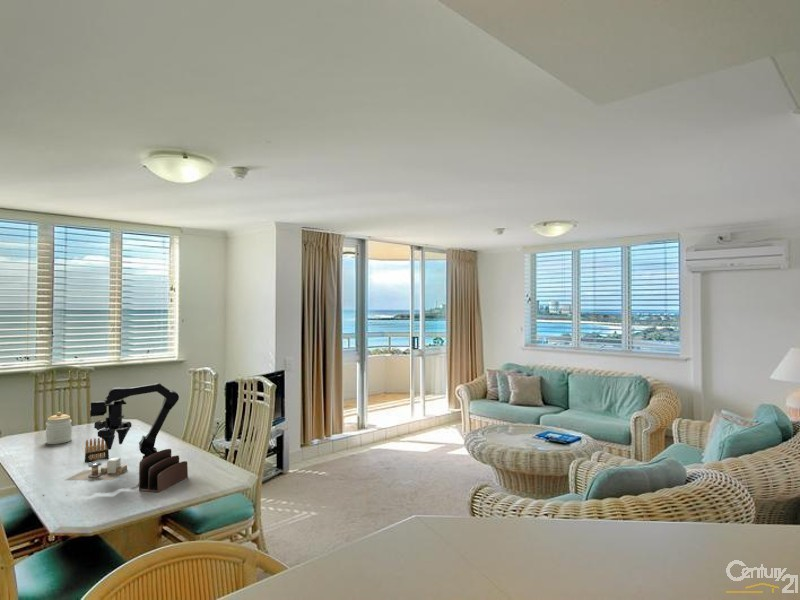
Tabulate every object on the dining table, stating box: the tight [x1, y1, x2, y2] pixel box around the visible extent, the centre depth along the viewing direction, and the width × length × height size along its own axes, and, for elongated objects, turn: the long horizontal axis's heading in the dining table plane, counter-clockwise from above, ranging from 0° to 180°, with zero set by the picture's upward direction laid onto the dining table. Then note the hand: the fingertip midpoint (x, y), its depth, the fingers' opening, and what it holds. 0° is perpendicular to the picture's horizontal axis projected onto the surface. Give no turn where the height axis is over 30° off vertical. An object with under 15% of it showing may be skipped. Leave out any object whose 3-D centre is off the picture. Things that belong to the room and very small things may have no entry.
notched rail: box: [100, 464, 128, 475], centre depth 234 cm, size 10×5×2 cm, turn 90°
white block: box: [106, 457, 122, 473], centre depth 235 cm, size 4×4×6 cm
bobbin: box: [87, 461, 102, 478], centre depth 229 cm, size 5×5×6 cm
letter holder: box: [138, 448, 189, 494], centre depth 222 cm, size 10×20×14 cm, turn 167°
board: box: [65, 469, 121, 481], centre depth 230 cm, size 21×14×2 cm, turn 90°
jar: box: [45, 411, 73, 445], centre depth 295 cm, size 13×13×18 cm
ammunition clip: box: [84, 437, 110, 464], centre depth 257 cm, size 11×2×12 cm, turn 131°
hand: (115, 446), depth 237 cm, fingers open, 9 cm apart
